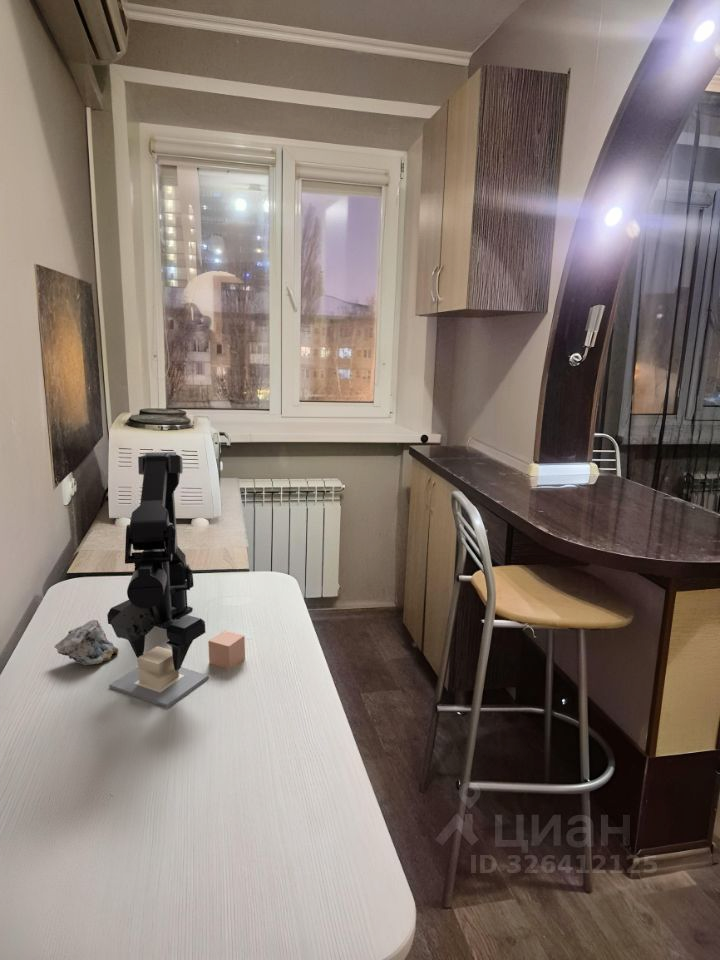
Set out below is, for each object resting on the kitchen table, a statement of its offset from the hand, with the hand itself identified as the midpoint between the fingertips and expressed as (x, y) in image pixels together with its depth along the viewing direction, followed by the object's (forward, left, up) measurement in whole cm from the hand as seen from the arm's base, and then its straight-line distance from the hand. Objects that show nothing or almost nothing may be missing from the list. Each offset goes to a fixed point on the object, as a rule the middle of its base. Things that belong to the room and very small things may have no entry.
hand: (158, 663), depth 117 cm
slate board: (0, 0, -4) cm, 4 cm away
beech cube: (0, 0, -3) cm, 3 cm away
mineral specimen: (0, -19, -4) cm, 19 cm away
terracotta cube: (-12, +6, -4) cm, 14 cm away
